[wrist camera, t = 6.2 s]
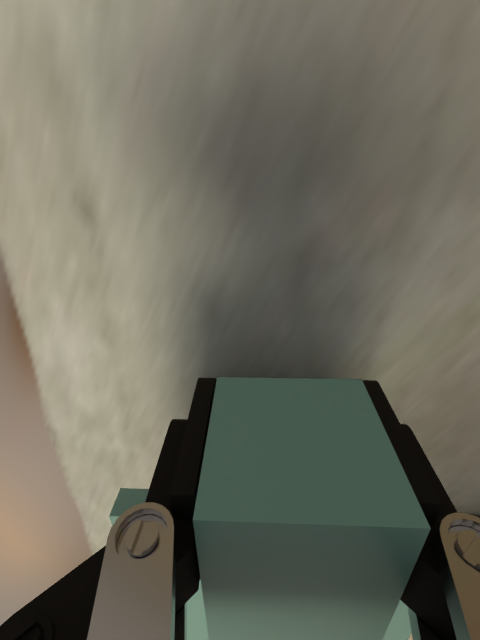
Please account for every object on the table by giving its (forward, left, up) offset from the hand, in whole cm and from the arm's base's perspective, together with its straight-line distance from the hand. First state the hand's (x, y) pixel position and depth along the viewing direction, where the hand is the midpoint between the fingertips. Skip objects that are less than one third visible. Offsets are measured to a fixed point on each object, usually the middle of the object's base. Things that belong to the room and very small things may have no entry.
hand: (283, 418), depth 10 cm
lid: (-8, +4, 0) cm, 9 cm away
